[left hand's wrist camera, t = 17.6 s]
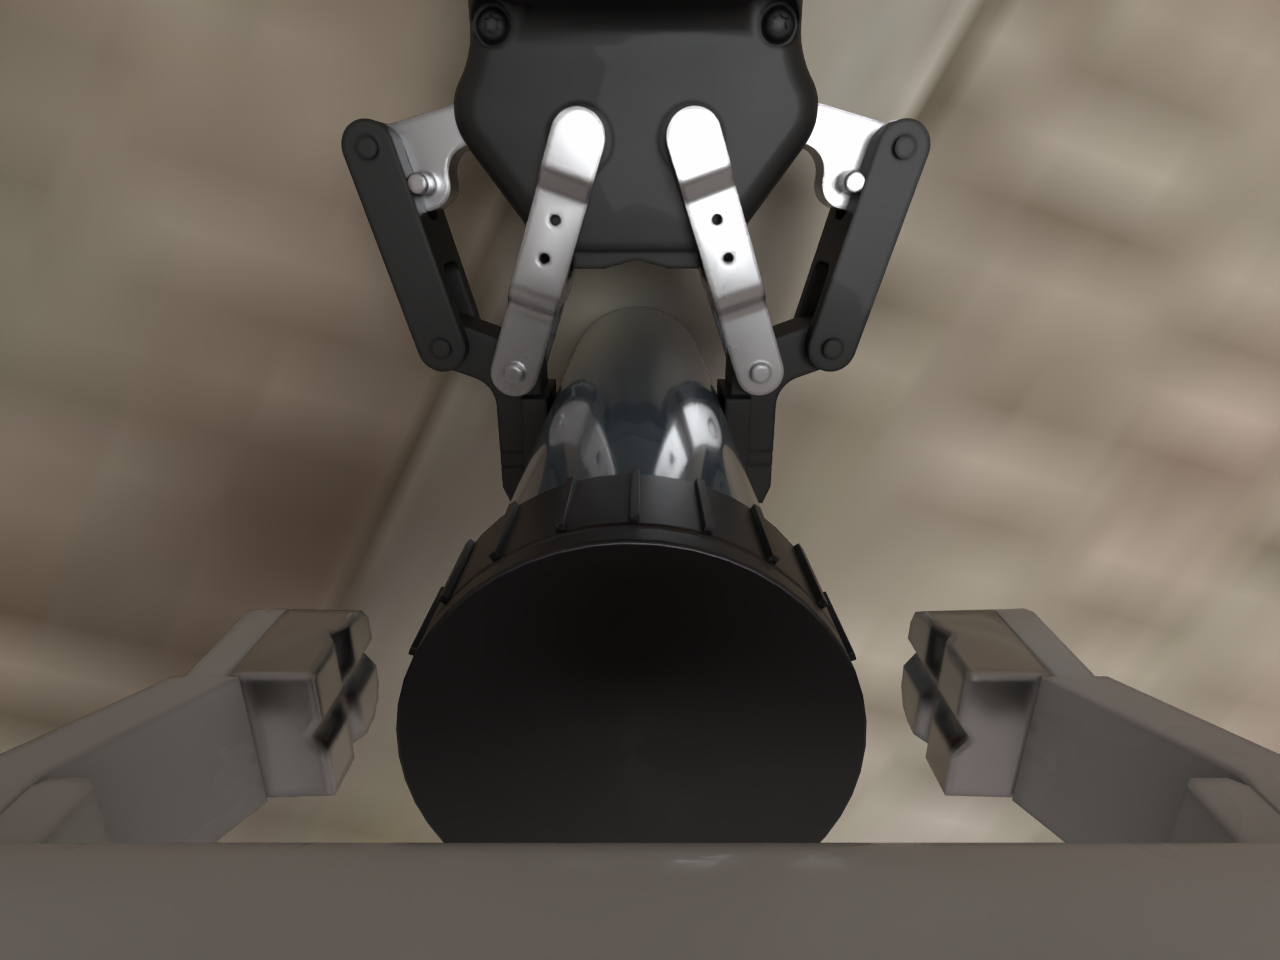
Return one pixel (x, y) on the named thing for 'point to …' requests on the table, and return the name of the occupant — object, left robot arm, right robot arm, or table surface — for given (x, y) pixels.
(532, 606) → the lid
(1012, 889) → the left robot arm
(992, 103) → the table surface
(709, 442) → the dark gray cylinder
